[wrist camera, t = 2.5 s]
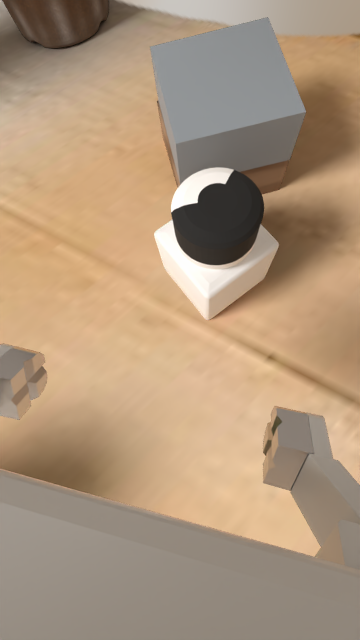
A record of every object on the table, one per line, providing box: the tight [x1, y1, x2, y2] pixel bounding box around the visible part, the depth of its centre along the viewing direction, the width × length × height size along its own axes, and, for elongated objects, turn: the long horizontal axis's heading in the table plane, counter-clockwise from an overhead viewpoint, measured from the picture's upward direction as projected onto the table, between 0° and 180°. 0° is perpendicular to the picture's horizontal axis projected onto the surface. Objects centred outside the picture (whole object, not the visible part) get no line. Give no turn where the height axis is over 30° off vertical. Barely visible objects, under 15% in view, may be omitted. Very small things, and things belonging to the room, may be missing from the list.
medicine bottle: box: [154, 167, 279, 320], centre depth 27 cm, size 7×7×12 cm
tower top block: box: [150, 17, 306, 185], centre depth 28 cm, size 10×10×5 cm
